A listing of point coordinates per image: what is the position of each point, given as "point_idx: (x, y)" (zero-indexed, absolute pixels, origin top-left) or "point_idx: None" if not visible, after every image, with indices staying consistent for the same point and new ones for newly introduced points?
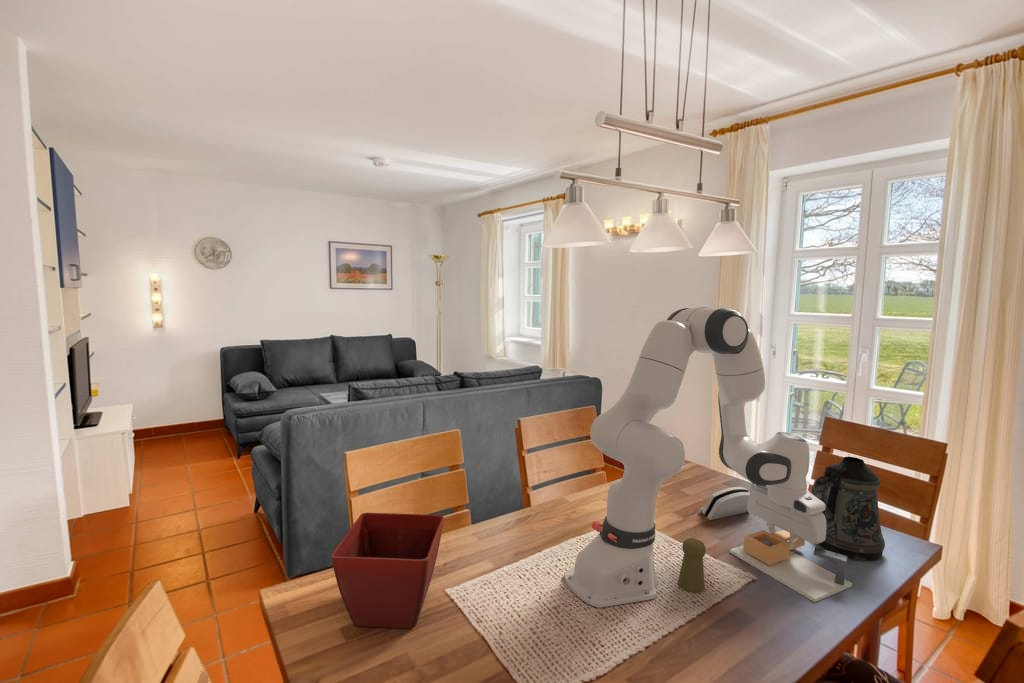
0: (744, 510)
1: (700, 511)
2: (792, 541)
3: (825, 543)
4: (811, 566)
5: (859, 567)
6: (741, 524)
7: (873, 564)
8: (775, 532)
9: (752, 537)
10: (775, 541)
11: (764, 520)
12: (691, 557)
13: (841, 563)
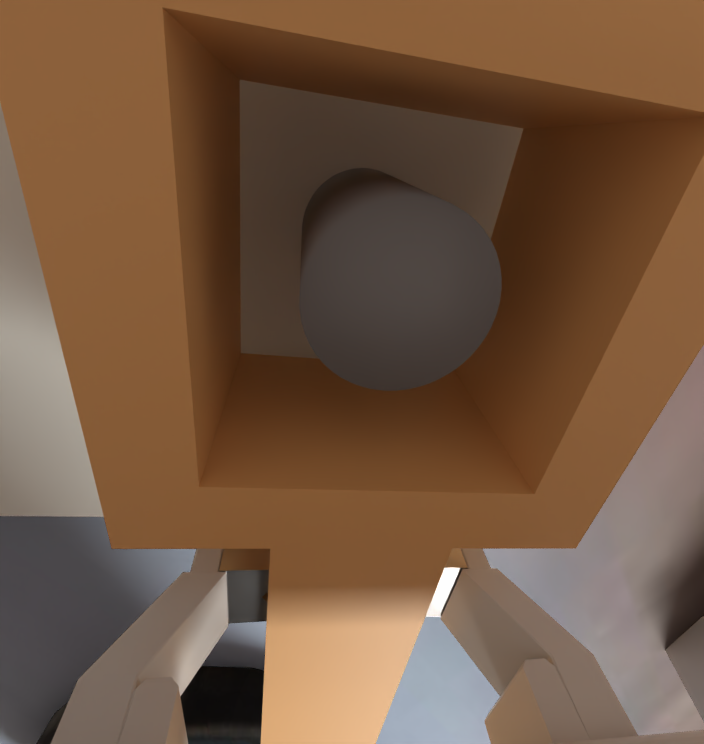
0: (699, 646)
1: None
2: (148, 609)
3: (215, 711)
4: (35, 464)
5: (3, 667)
6: (683, 540)
7: (17, 718)
8: (444, 610)
9: None
10: (330, 457)
11: (689, 737)
12: None
13: None
